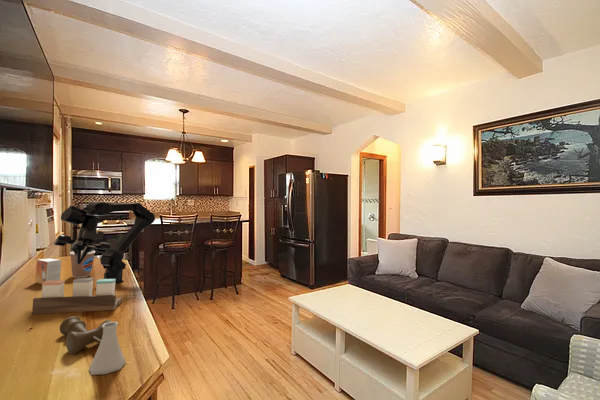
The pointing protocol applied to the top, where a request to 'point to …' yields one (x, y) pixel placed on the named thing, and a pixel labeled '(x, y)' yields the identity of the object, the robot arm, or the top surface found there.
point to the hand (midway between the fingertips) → (78, 264)
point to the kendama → (79, 334)
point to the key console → (75, 304)
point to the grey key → (83, 286)
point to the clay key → (53, 288)
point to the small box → (47, 270)
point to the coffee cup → (82, 265)
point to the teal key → (105, 287)
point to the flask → (108, 352)
